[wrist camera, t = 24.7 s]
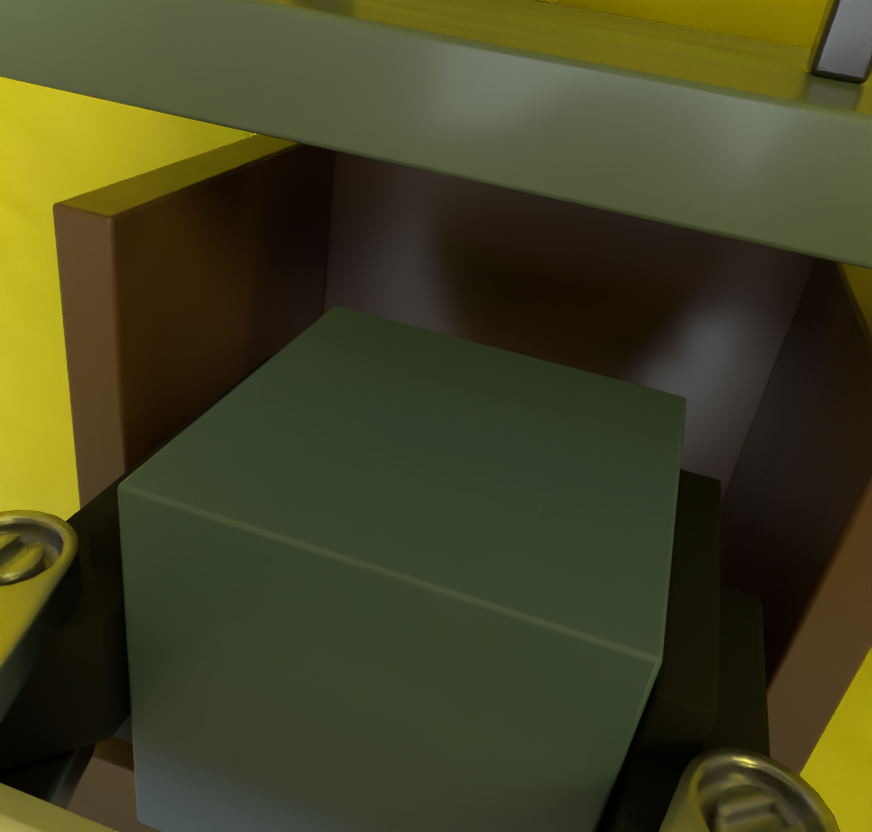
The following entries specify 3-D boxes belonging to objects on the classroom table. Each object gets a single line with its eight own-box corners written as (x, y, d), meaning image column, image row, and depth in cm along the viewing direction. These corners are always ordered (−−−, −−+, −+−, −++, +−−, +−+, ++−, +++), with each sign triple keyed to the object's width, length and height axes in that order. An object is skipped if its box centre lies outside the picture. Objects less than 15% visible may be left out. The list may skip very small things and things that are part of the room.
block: (596, 667, 12) (536, 987, 8) (310, 573, 13) (134, 822, 9) (688, 395, 10) (663, 661, 6) (333, 303, 11) (113, 484, 7)
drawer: (317, -492, 12) (-183, -1074, 5) (1207, -433, 10) (2207, -1276, 3) (267, 516, 21) (60, 764, 14) (723, 660, 19) (725, 1027, 12)
